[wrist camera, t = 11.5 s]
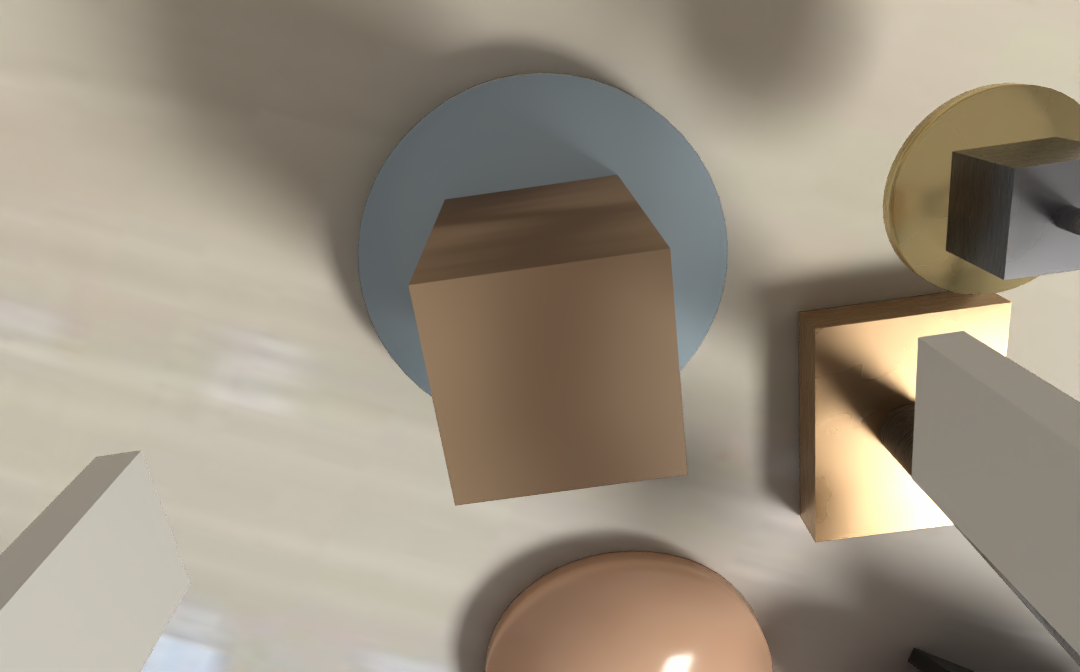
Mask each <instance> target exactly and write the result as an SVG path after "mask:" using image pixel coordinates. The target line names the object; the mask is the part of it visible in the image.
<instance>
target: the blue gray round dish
mask: <svg viewBox="0 0 1080 672" xmlns="http://www.w3.org/2000/svg"><path fill="white" fill-rule="evenodd" d="M613 175H618V176H619V177H620V179H621V180H622V182H623V183H624V184H625V186H626V187H627V189H628V190H629V191H630V193H631V194H632V196H633V197H634V198H635V200H636V201H637V203H638V204H639V205H640V207H641V208H642V210H643V211H644V212H645V214H646V215H647V217H648V218H649V219H650V221H651V222H652V224H653V225H654V226H655V228H656V229H657V230H658V232H659V233H660V235H661V236H662V237H663V239H664V240H665V242H666V243H667V244H668V246H669V247H670V251H671V264H672V277H673V291H674V304H675V317H676V330H677V344H678V357H679V370H680V371H681V370H682V369H683V367H684V366H685V365H686V364H687V362H688V361H689V360H690V358H691V357H692V356H693V355H694V353H695V352H696V351H697V349H698V347H699V346H700V344H701V342H702V341H703V339H704V337H705V336H706V334H707V333H708V330H709V328H710V326H711V324H712V321H713V319H714V317H715V315H716V312H717V309H718V306H719V303H720V299H721V296H722V293H723V289H724V282H725V276H726V270H727V235H726V226H725V219H724V215H723V211H722V207H721V203H720V199H719V196H718V194H717V191H716V189H715V186H714V184H713V181H712V179H711V177H710V174H709V173H708V171H707V169H706V168H705V166H704V164H703V162H702V161H701V159H700V157H699V156H698V154H697V153H696V151H695V150H694V149H693V147H692V146H691V145H690V144H689V142H688V141H687V140H686V139H685V137H684V136H683V135H682V134H681V133H680V132H679V131H678V130H677V129H676V128H675V127H674V126H673V125H672V124H671V123H670V122H669V121H668V120H667V119H665V118H664V117H663V116H662V115H660V114H659V113H658V112H656V111H655V110H653V109H652V108H651V107H649V106H648V105H646V104H645V103H644V102H642V101H640V100H638V99H636V98H635V97H633V96H631V95H629V94H627V93H625V92H623V91H621V90H619V89H617V88H615V87H613V86H610V85H607V84H604V83H602V82H599V81H596V80H593V79H589V78H584V77H580V76H575V75H570V74H560V73H544V72H540V73H527V74H516V75H511V76H507V77H502V78H497V79H493V80H490V81H487V82H485V83H482V84H479V85H476V86H474V87H471V88H468V89H467V90H465V91H463V92H461V93H459V94H457V95H455V96H453V97H452V98H450V99H448V100H446V101H445V102H443V103H442V104H441V105H439V106H438V107H437V108H435V109H434V110H432V111H431V112H430V113H428V114H427V115H426V116H425V117H424V118H423V119H422V120H421V121H420V122H419V123H417V124H416V125H415V126H414V127H413V128H412V129H411V130H410V131H409V132H408V133H407V134H406V135H405V136H404V137H403V138H402V140H401V141H400V142H399V144H398V145H397V146H396V147H395V149H394V150H393V151H392V152H391V154H390V155H389V156H388V158H387V160H386V161H385V163H384V165H383V167H382V168H381V170H380V172H379V173H378V175H377V177H376V179H375V181H374V184H373V186H372V189H371V191H370V194H369V196H368V198H367V201H366V205H365V209H364V213H363V217H362V221H361V226H360V235H359V244H358V264H359V276H360V282H361V288H362V294H363V298H364V301H365V304H366V307H367V311H368V314H369V317H370V319H371V321H372V323H373V326H374V328H375V330H376V332H377V334H378V337H379V338H380V340H381V341H382V343H383V345H384V346H385V348H386V349H387V351H388V353H389V354H390V356H391V357H392V358H393V360H394V361H395V362H396V363H397V364H398V366H399V367H400V368H401V369H402V370H403V372H404V373H405V374H406V375H407V376H408V377H409V378H410V379H411V380H412V381H413V382H415V383H416V384H417V385H418V386H419V387H420V388H421V389H422V390H423V391H425V392H426V393H428V394H429V395H430V396H432V394H431V389H430V385H429V380H428V375H427V370H426V366H425V361H424V356H423V352H422V347H421V342H420V337H419V333H418V328H417V323H416V319H415V314H414V309H413V304H412V300H411V295H410V290H409V283H410V280H411V278H412V276H413V273H414V271H415V269H416V266H417V264H418V262H419V259H420V257H421V255H422V252H423V250H424V247H425V245H426V243H427V240H428V238H429V236H430V233H431V231H432V229H433V226H434V224H435V222H436V219H437V217H438V215H439V212H440V210H441V207H442V205H443V203H444V200H445V199H452V198H459V197H466V196H473V195H480V194H487V193H494V192H501V191H508V190H515V189H522V188H529V187H536V186H543V185H550V184H557V183H564V182H571V181H578V180H585V179H592V178H599V177H606V176H613Z"/></svg>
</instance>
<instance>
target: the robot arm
mask: <svg viewBox="0 0 1080 672" xmlns="http://www.w3.org/2000/svg"><path fill="white" fill-rule="evenodd" d="M911 479H912V480H913V481H914V482H915V483H916V484H917V485H918V486H919V487H920V488H921V489H922V490H923V491H924V492H925V493H926V494H927V495H928V496H929V498H930V499H931V500H932V501H933V502H934V503H935V504H936V505H937V506H938V507H939V508H940V509H941V510H942V511H943V512H944V513H945V514H946V515H947V516H948V517H949V519H950V520H951V521H952V522H953V523H954V524H955V525H956V526H957V527H958V528H959V529H960V530H961V531H962V532H963V533H964V534H965V535H966V536H967V537H968V539H969V540H970V541H971V542H972V543H973V544H974V545H975V546H976V547H977V548H978V549H979V550H980V551H981V552H982V553H983V554H984V555H985V556H986V557H987V558H988V560H989V561H990V562H991V563H992V564H993V565H994V566H995V567H996V568H997V569H998V570H999V571H1000V572H1001V573H1002V574H1003V575H1004V576H1005V577H1006V578H1007V579H1008V581H1009V582H1010V583H1011V584H1012V585H1013V586H1014V587H1015V588H1016V589H1017V590H1018V591H1019V592H1020V593H1021V594H1022V595H1023V596H1024V597H1025V598H1026V599H1027V601H1028V602H1029V603H1030V604H1031V605H1032V606H1033V607H1034V608H1035V609H1036V610H1037V611H1038V612H1039V613H1040V614H1041V615H1042V616H1043V617H1044V618H1045V619H1046V620H1047V622H1048V623H1049V624H1050V625H1051V626H1052V627H1053V628H1054V629H1055V630H1056V631H1057V632H1058V633H1059V634H1060V635H1061V636H1062V637H1063V638H1064V639H1065V640H1066V642H1067V643H1068V644H1069V645H1070V646H1071V647H1072V648H1073V649H1074V650H1075V651H1076V652H1077V653H1078V654H1079V655H1080V402H1079V401H1077V400H1075V399H1074V398H1072V397H1070V396H1069V395H1067V394H1066V393H1064V392H1062V391H1061V390H1059V389H1057V388H1056V387H1054V386H1053V385H1051V384H1049V383H1048V382H1046V381H1044V380H1043V379H1041V378H1040V377H1038V376H1036V375H1035V374H1033V373H1031V372H1030V371H1028V370H1027V369H1025V368H1023V367H1022V366H1020V365H1018V364H1017V363H1015V362H1014V361H1012V360H1010V359H1009V358H1007V357H1005V356H1004V355H1002V354H1001V353H999V352H997V351H996V350H994V349H992V348H991V347H989V346H988V345H986V344H984V343H983V342H981V341H979V340H978V339H976V338H975V337H973V336H971V335H970V334H968V333H966V332H965V331H958V332H951V333H944V334H937V335H931V336H924V337H918V350H917V371H916V392H915V413H914V434H913V455H912V476H911ZM190 584H191V582H190V580H189V577H188V574H187V572H186V569H185V566H184V564H183V561H182V558H181V556H180V553H179V550H178V548H177V545H176V542H175V540H174V537H173V534H172V531H171V529H170V526H169V523H168V521H167V518H166V515H165V513H164V510H163V507H162V505H161V502H160V499H159V497H158V494H157V491H156V488H155V486H154V483H153V480H152V478H151V475H150V472H149V470H148V467H147V464H146V462H145V459H144V456H143V454H142V451H141V450H140V451H134V452H127V453H120V454H113V455H106V456H99V457H96V458H95V459H94V460H93V461H92V462H91V463H90V464H89V465H88V466H87V467H86V468H85V469H84V470H83V471H82V472H81V473H80V474H79V475H78V476H77V477H76V478H75V479H74V480H73V481H72V482H71V483H70V484H69V485H68V486H67V487H66V488H65V489H64V490H63V491H62V492H61V493H60V494H59V495H58V496H57V498H56V499H55V500H54V501H53V502H52V503H51V504H50V505H49V506H48V507H47V508H46V509H45V510H44V511H43V512H42V513H41V514H40V515H39V516H38V517H37V518H36V519H35V520H34V521H33V522H32V523H31V524H30V525H29V526H28V527H27V528H26V529H25V530H24V531H23V532H22V533H21V534H20V535H19V536H18V538H17V539H16V540H15V541H14V542H13V543H12V544H11V545H10V546H9V547H8V548H7V549H6V550H5V551H4V552H3V553H2V554H1V555H0V672H140V671H141V670H142V668H143V666H144V664H145V663H146V661H147V659H148V657H149V656H150V654H151V652H152V650H153V648H154V647H155V645H156V643H157V641H158V640H159V638H160V636H161V634H162V633H163V631H164V629H165V627H166V626H167V624H168V622H169V620H170V619H171V617H172V615H173V613H174V612H175V610H176V608H177V606H178V605H179V603H180V601H181V599H182V598H183V596H184V594H185V592H186V591H187V589H188V587H189V585H190Z"/></svg>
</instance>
